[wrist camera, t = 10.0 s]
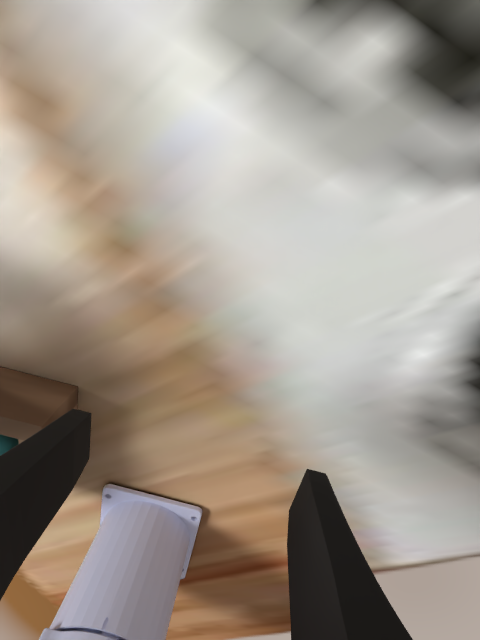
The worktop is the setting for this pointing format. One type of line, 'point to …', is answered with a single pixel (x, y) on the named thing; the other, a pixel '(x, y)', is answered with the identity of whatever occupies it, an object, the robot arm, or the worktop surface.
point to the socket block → (31, 403)
